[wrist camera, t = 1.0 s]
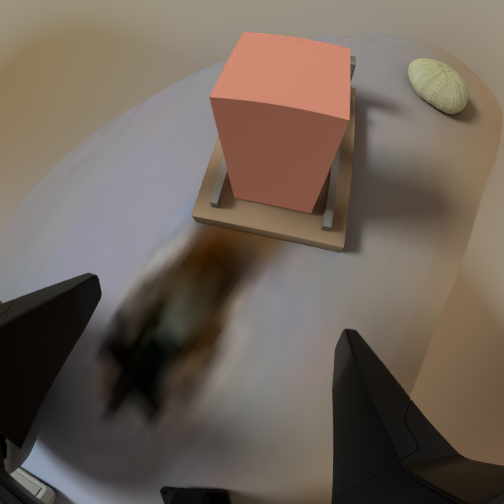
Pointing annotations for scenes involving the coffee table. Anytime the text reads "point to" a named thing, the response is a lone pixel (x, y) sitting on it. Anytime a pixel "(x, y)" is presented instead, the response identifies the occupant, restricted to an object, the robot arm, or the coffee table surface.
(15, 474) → the digital clock
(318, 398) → the coffee table surface
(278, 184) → the salmon pink rectangular block
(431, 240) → the coffee table surface
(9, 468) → the bowl of black rocks
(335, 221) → the base
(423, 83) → the sea urchin shell
